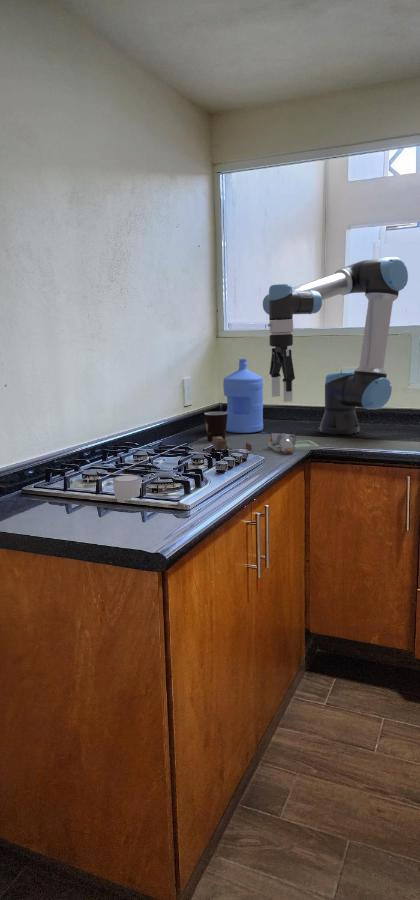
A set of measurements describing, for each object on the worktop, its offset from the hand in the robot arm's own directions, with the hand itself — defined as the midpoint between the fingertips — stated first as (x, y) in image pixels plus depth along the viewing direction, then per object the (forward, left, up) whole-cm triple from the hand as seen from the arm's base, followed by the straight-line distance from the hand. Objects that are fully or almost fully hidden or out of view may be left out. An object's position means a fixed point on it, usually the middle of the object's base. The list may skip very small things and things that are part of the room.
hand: (281, 399), depth 199 cm
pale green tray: (-4, 0, -17) cm, 17 cm away
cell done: (-4, 0, -14) cm, 15 cm away
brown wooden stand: (+15, 0, -17) cm, 23 cm away
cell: (+1, +3, -13) cm, 13 cm away
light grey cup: (+54, +54, -17) cm, 78 cm away
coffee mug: (+18, -22, -17) cm, 33 cm away
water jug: (+4, -39, -17) cm, 43 cm away
